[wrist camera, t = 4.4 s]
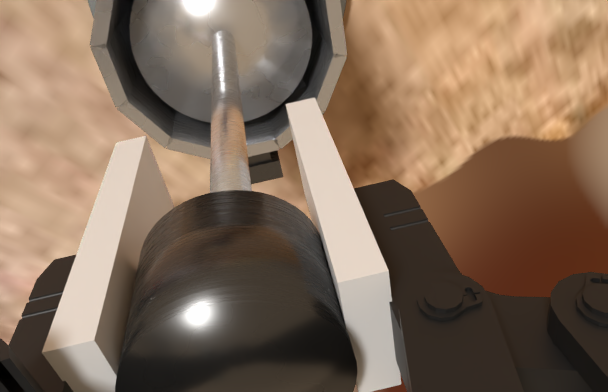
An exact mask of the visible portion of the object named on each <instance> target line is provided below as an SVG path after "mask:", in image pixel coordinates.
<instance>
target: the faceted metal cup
mask: <svg viewBox="0 0 608 392" xmlns="http://www.w3.org/2000/svg"><path fill="white" fill-rule="evenodd" d="M304 1H305V4H306V6H307V9H308V12H309V16H310V21H311V29H312V47H311V53H310V58H309V62H308V65H307V68H306V70H305V73H304V75H303V77H302V79H301V81H300V82H299V84H298V86H297V87H296V88H295V90H294V91H293V92H292V94H291V95H290V96H289V97H288V98H287V99H286V100H285V101H284V102H283V103H282V104H280V105H279V106H278V107H276V108H275V109H274V110H272V111H270V112H268V113H267V114H265V115H263V116H260V117H258V118H256V119H252V120H249V121H246V122H244V126H245V135H246V144H247V153H248V162H249V171H250V179H251V184H254V183H259V182H263V181H267V180H272V179H276V178H280V177H283V174H282V169H281V165H280V160H279V155H278V151H277V150H280V149H279V147H280V148H281V149H282V148H283V147H284V146H285V145H287V144H288V143H289V142H290V141H291V140H293V137H292V132H291V128H290V123H289V118H288V114H287V109H286V104H288V103H293V102H297V101H301V100H306V99H310V98H315V99H316V101H317V104H318V106H319V108H320V111H321V113H322V114H324V111H326V108H327V106H328V103H329V101H330V98H331V96H332V93H333V91H334V88H335V86H336V83H337V81H338V78H339V76H340V73H341V71H342V68H343V66H344V63H345V61H346V58H347V56H346V55H347V49H346V41H345V33H344V26H343V18H342V10H341V3H340V0H304ZM133 3H134V0H96V7H95V14H94V21H93V28H92V35H91V42H90V45H91V50H92V52H93V55H94V57H95V59H96V62H97V64H98V66H99V69H100V71H101V74H102V76H103V78H104V81H105V83H106V85H107V88H108V90H109V93H110V95H111V97H112V100H113V102H114V104H115V107H117V109H118V110H119V111H120V112H121V113H123V114H124V115H125V116H126V117H127V118H129V119H130V120H131V121H132V122H134V123H135V124H136V125H137V126H138V127H140V128H141V129H142V130H143V131H145V132H146V133H147V134H148V135H149V136H151V137H152V138H153V139H154V140H155V141H157V142H158V143H159V144H160V145H162V146H163V147H164V148H165V147H166V146H167V148H166V149H169V150H173V151H178V152H182V153H186V154H190V155H195V156H199V157H203V158H207V159H210V158H211V123H210V122H205V121H201V120H197V119H194V118H191V117H189V116H187V115H185V114H182V113H180V112H179V111H177V110H176V109H174V108H172V107H171V106H169V105H168V104H167V103H166V102H164V101H163V100H162V99H161V98H160V97H159V96H158V95H157V94H156V93H155V92H154V91H153V90H152V89H151V87H150V86H149V85H148V83H147V82H146V80H145V79H144V77H143V76H142V74H141V72H140V70H139V68H138V66H137V63H136V61H135V58H134V54H133V51H132V46H131V40H130V18H131V11H132V7H133Z"/></svg>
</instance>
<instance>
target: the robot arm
mask: <svg viewBox="0 0 608 392" xmlns="http://www.w3.org/2000/svg"><path fill="white" fill-rule="evenodd" d="M286 109H287V114H288V118H289V123H290V128H291V132H292V137H293V142H294V146H295V151H296V156H297V160H298V165H299V170H300V175H301V179H302V184H303V189H304V193H305V197H306V201H307V204H308V208H309V212H310V215H311V219H312V223H313V224H314V226H315V227H316V228H317V230H318V232H319V234H320V237H321V241H322V244H323V248H324V251H325V255H326V259H327V262H328V266H329V269H330V273H331V276H332V280H333V283H334V287H335V290H336V294H337V298H338V301H339V305H340V308H341V312H342V315H343V319H344V322H345V326H346V329H347V332H348V334H349V337H350V340H351V344H352V347H353V351H354V354H355V358H356V361H357V380H356V385H357V389H358V392H371V391H375V390H380V389H384V388H388V387H392V386H396V385H401V378H400V373H401V376H402V378H403V381H404V384H405V387H406V389H407V392H608V274H602V273H594V272H588V273H581V274H573V275H571V276H569V277H567V278H565V279H563V280H561V281H559V282H558V284H557V285H556V286H555V287H554V289H553V290H552V292H551V297H514V296H505V295H499V294H495V293H491V292H488V291H485V290H484V288H483V287H482V286H481V285H479V284H478V283H477V282H475V281H474V280H472V279H471V278H469V277H467V276H464V275H462V274H461V273H460V271H459V270H458V268H457V267H456V265H455V264H454V262H453V260H452V258H451V257H450V255H449V253H448V252H447V250H446V248H445V247H444V245H443V243H442V242H441V240H440V238H439V237H438V235H437V233H436V232H435V230H434V228H433V227H432V225H431V223H430V222H428V218H427V217H426V215H425V213H424V212H423V210H422V209H421V208H420V205H419V203H418V202H417V200H416V199H415V197H414V195H413V193H412V192H411V190H409V189H408V188H406V187H404V186H403V185H401V184H400V183H398V182H396V181H395V180H389V181H385V182H381V183H376V184H372V185H368V186H363V187H359V188H355V189H354V188H353V186H352V184H351V181H350V179H349V176H348V174H347V172H346V169H345V167H344V165H343V162H342V160H341V158H340V155H339V153H338V151H337V148H336V146H335V144H334V141H333V139H332V137H331V134H330V132H329V130H328V127H327V125H326V123H325V120H324V118H323V115H322V113H321V111H320V108H319V106H318V104H317V101H316V99H315V98H310V99H306V100H301V101H297V102H293V103H288V104H286ZM173 208H175V207H174V205H173V202H172V200H171V197H170V195H169V192H168V190H167V187H166V185H165V182H164V180H163V177H162V175H161V172H160V170H159V167H158V165H157V162H156V159H155V157H154V154H153V152H152V149H151V147H150V144H149V142H148V139H147V137H146V136H143V137H138V138H134V139H129V140H125V141H121V142H116V145H115V147H114V150H113V153H112V156H111V159H110V161H109V164H108V167H107V170H106V173H105V176H104V178H103V181H102V184H101V187H100V190H99V192H98V195H97V198H96V201H95V204H94V207H93V209H92V212H91V215H90V218H89V221H88V224H87V226H86V229H85V232H84V235H83V238H82V240H81V243H80V246H79V249H78V252H77V255H73V256H68V257H64V258H60V259H55V260H54V261H53V262H52V263H51V264H50V265H49V266H48V267H47V269H46V270H45V271H44V272H43V273H42V274H41V275H40V276H39V278H38V279H37V281H36V283H35V285H34V288H33V290H32V292H31V295H30V297H29V303H27V304H26V306H25V309H24V311H23V313H22V319H21V320H19V323H18V325H17V327H16V330H15V332H14V334H13V337H12V339H11V341H10V344H9V346H8V345H7V344H6V343H5V342H4V341H3V340H2V339H0V392H115V385H116V378H117V372H118V367H119V362H120V357H121V351H122V346H123V341H124V336H125V331H126V325H127V320H128V315H129V310H130V304H131V299H132V294H133V289H134V284H135V278H136V273H137V268H138V263H139V257H140V252H141V249H142V246H143V243H144V241H145V239H146V237H147V235H148V233H149V232H150V230H151V229H152V228H153V226H154V225H155V224H156V223H157V222H158V221H159V220H160V219H161V218H162V217H163V216H164V215H165V214H166V213H168V212H169V211H170V210H172V209H173Z"/></svg>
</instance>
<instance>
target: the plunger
mask: <svg viewBox="0 0 608 392" xmlns="http://www.w3.org/2000/svg"><path fill="white" fill-rule="evenodd" d="M130 40H131V46H132V51H133V54H134V58H135V61H136V63H137V66H138V68H139V70H140V72H141V74H142V76H143V77H144V79H145V80H146V82H147V83H148V85H149V86H150V87H151V89H152V90H153V91H154V92H155V93H156V94H157V95H158V96H159V97H160V98H161V99H162V100H163V101H164V102H166V103H167V104H168V105H169V106H171V107H172V108H174V109H176V110H177V111H179V112H180V113H182V114H185V115H187V116H189V117H191V118H194V119H197V120H201V121H205V122H210V123H211V158H210V193H208V194H205V195H201V196H198V197H195V198H193V199H190V200H188V201H185V202H183V203H182V204H180V205H178V206H176V207H175V208H173V209H172V210H170V211H169V212H168V213H166V214H165V215H164V216H163V217H162V218H161V219H160V220H159V221H158V222H157V223H156V224H155V225H154V226H153V228H152V229H151V230H150V232H149V233H148V235H147V237H146V239H145V241H144V243H143V246H142V249H141V252H140V257H139V263H138V268H137V273H136V278H135V284H134V289H133V294H132V299H131V304H130V310H129V315H128V320H127V325H126V331H125V336H124V341H123V346H122V351H121V357H120V362H119V367H118V372H117V378H116V385H115V392H353V391H354V387H355V384H356V380H357V361H356V358H355V354H354V351H353V347H352V344H351V340H350V337H349V334H348V332H347V329H346V326H345V322H344V319H343V315H342V312H341V308H340V305H339V301H338V298H337V294H336V290H335V287H334V283H333V280H332V276H331V273H330V269H329V266H328V262H327V259H326V255H325V251H324V248H323V244H322V241H321V237H320V234H319V232H318V230H317V228H316V227H315V226H314V224H313V223H312V221H311V220H310V219H309V218H308V217H307V216H306V215H305V214H304V213H303V212H301V211H300V210H299V209H298V208H296V207H295V206H293V205H291V204H290V203H288V202H286V201H284V200H282V199H279V198H277V197H275V196H271V195H268V194H264V193H260V192H254V191H252V188H251V179H250V171H249V162H248V153H247V144H246V135H245V126H244V122H246V121H249V120H252V119H256V118H258V117H260V116H263V115H265V114H267V113H268V112H270V111H272V110H274V109H275V108H276V107H278V106H279V105H280V104H282V103H283V102H284V101H285V100H286V99H287V98H288V97H289V96H290V95H291V94H292V92H293V91H294V90H295V88H296V87H297V86H298V84H299V82H300V81H301V79H302V77H303V75H304V73H305V70H306V68H307V65H308V62H309V58H310V53H311V47H312V29H311V21H310V16H309V12H308V9H307V6H306V4H305V1H304V0H134V3H133V7H132V11H131V18H130Z"/></svg>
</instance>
